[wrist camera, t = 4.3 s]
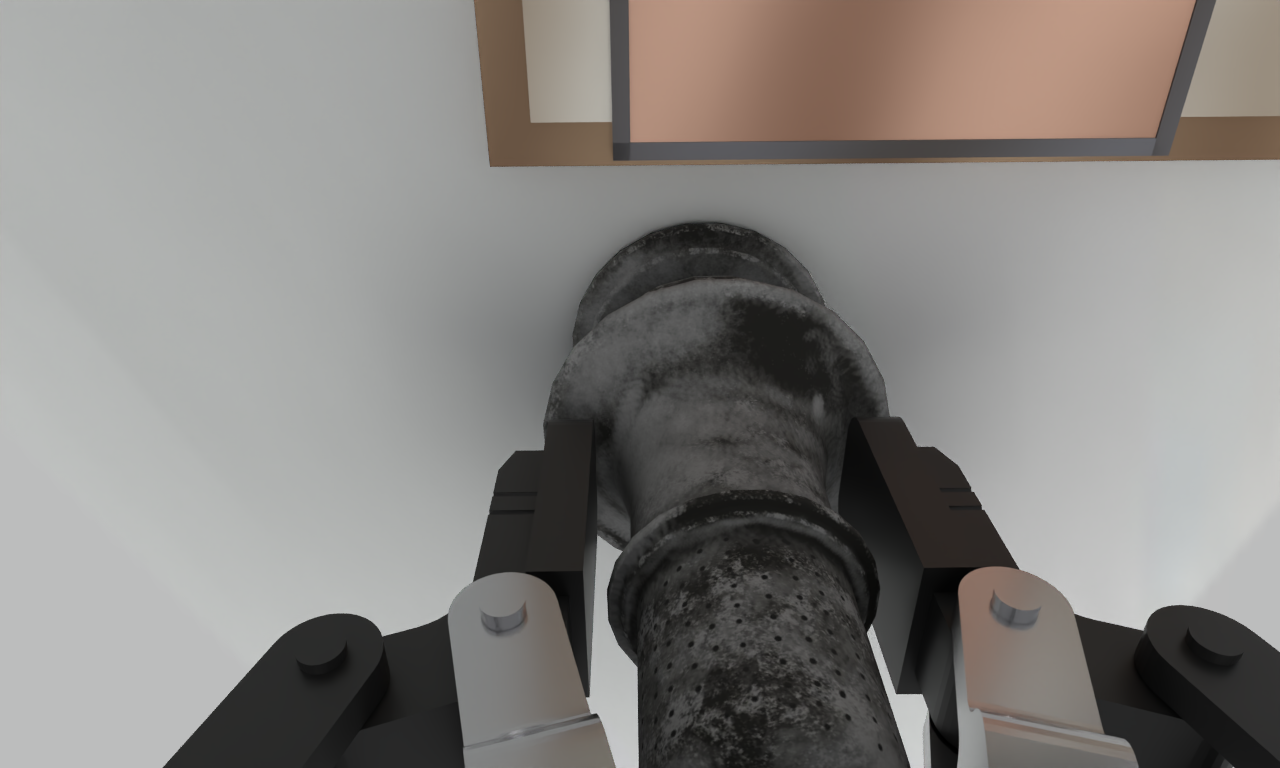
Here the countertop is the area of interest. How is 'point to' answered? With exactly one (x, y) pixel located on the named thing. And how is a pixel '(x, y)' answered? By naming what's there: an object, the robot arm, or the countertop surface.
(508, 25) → the picture board
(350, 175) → the countertop surface
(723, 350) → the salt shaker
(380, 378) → the countertop surface
